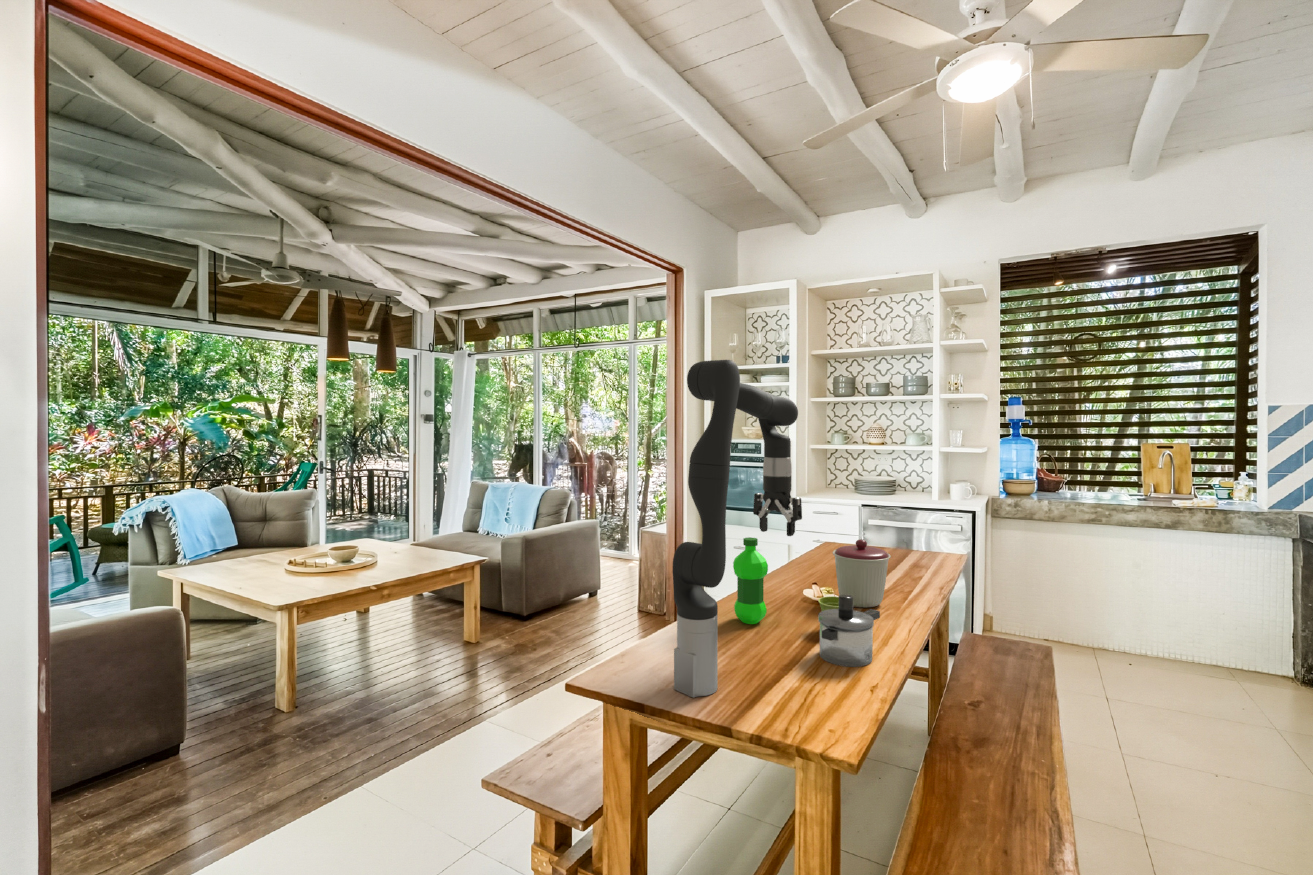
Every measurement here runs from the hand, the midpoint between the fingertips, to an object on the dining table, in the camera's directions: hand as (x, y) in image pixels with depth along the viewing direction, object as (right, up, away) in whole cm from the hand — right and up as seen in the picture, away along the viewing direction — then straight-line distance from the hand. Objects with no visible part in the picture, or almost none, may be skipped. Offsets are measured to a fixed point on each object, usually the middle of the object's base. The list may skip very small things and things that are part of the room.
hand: (776, 533), depth 170 cm
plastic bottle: (-4, -30, +19) cm, 35 cm away
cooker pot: (+18, -30, -6) cm, 36 cm away
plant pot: (+19, -30, +11) cm, 37 cm away
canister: (+34, -29, +36) cm, 58 cm away
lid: (+16, -21, -9) cm, 28 cm away
